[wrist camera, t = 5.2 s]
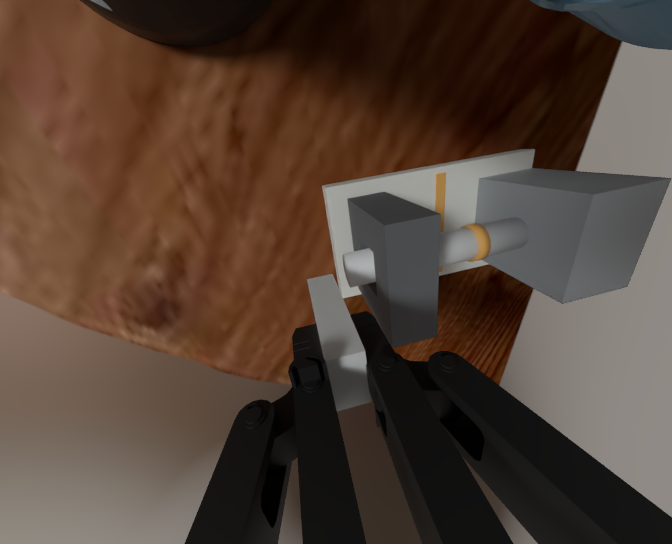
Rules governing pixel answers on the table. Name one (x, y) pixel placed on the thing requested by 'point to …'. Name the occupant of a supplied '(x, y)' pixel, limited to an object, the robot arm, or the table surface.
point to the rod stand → (514, 222)
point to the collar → (399, 264)
